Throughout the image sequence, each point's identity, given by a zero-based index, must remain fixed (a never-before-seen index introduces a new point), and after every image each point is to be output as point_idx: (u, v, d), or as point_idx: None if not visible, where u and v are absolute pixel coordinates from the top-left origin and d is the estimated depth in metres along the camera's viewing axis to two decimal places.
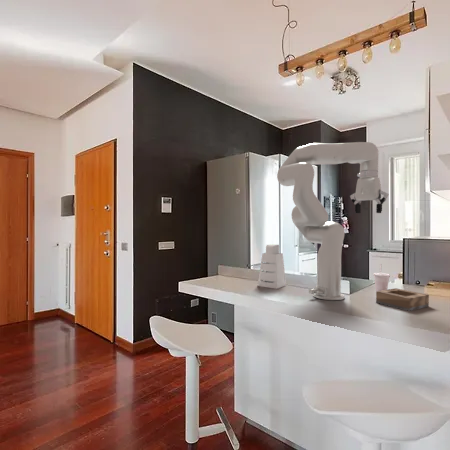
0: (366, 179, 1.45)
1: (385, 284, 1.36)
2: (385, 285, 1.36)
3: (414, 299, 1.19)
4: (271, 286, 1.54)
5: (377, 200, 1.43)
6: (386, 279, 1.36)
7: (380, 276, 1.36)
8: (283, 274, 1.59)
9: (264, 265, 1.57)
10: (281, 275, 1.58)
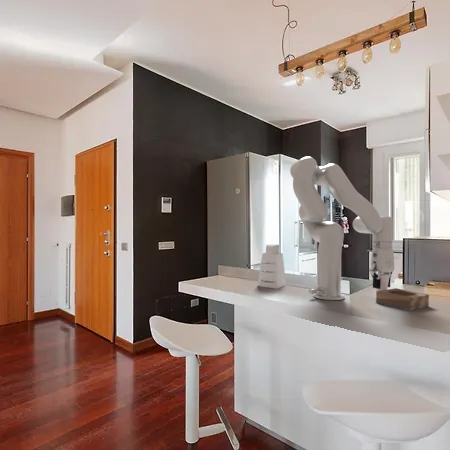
0: (388, 250, 1.36)
1: (385, 284, 1.36)
2: (385, 285, 1.36)
3: (414, 299, 1.19)
4: (271, 286, 1.54)
5: (389, 274, 1.39)
6: (386, 279, 1.36)
7: (380, 276, 1.36)
8: (283, 274, 1.59)
9: (264, 265, 1.57)
10: (281, 275, 1.58)
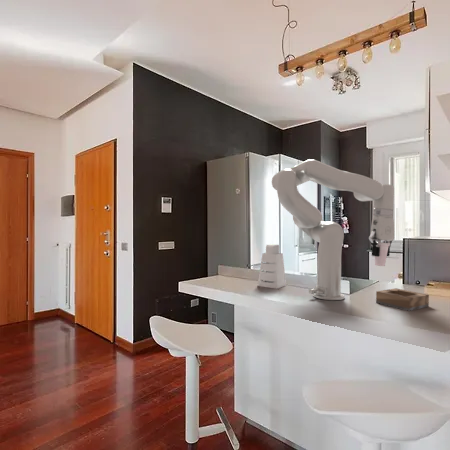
0: (389, 218, 1.36)
1: (384, 252, 1.36)
2: (384, 253, 1.36)
3: (414, 299, 1.19)
4: (271, 286, 1.54)
5: None
6: (385, 247, 1.36)
7: (379, 244, 1.36)
8: (283, 274, 1.59)
9: (264, 265, 1.57)
10: (281, 275, 1.58)
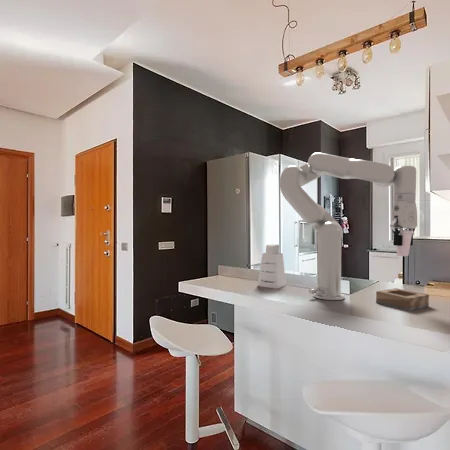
0: (411, 204, 1.23)
1: (408, 241, 1.23)
2: (408, 242, 1.23)
3: (414, 299, 1.19)
4: (271, 286, 1.54)
5: None
6: (409, 235, 1.23)
7: (402, 232, 1.23)
8: (283, 274, 1.59)
9: (264, 265, 1.57)
10: (281, 275, 1.58)
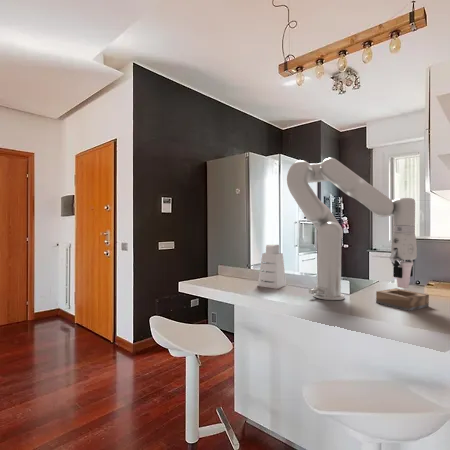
0: (411, 236, 1.23)
1: (408, 273, 1.23)
2: (407, 274, 1.23)
3: (414, 299, 1.19)
4: (271, 286, 1.54)
5: None
6: (409, 267, 1.23)
7: (402, 264, 1.23)
8: (283, 274, 1.59)
9: (264, 265, 1.57)
10: (281, 275, 1.58)
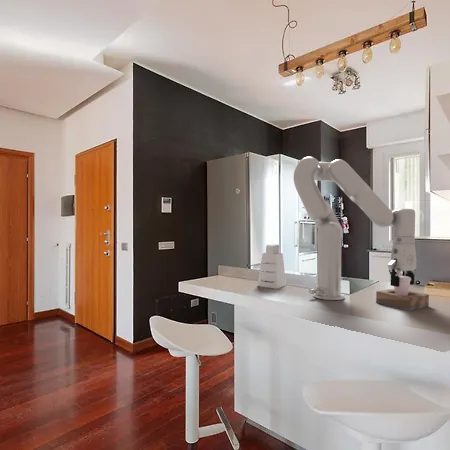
0: (410, 246, 1.23)
1: (406, 288, 1.23)
2: (406, 289, 1.23)
3: (414, 299, 1.19)
4: (271, 286, 1.54)
5: (413, 270, 1.27)
6: (407, 283, 1.23)
7: (400, 279, 1.23)
8: (283, 274, 1.59)
9: (264, 265, 1.57)
10: (281, 275, 1.58)
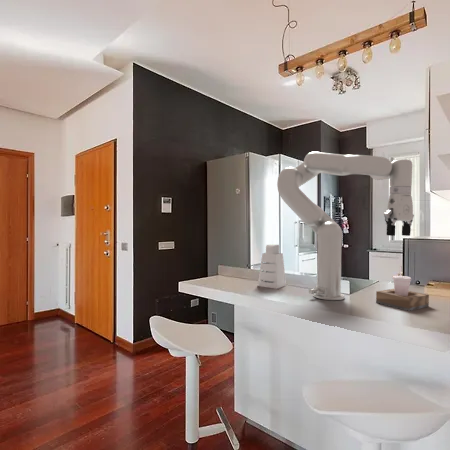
0: (407, 197, 1.25)
1: (406, 288, 1.23)
2: (406, 289, 1.23)
3: (414, 299, 1.19)
4: (271, 286, 1.54)
5: (409, 221, 1.29)
6: (407, 283, 1.23)
7: (400, 279, 1.23)
8: (283, 274, 1.59)
9: (264, 265, 1.57)
10: (281, 275, 1.58)
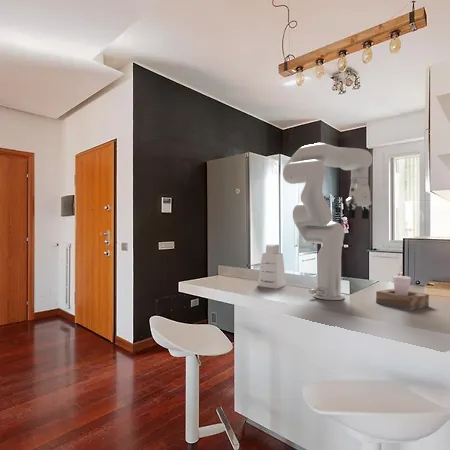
0: (364, 186, 1.51)
1: (406, 288, 1.23)
2: (406, 289, 1.23)
3: (414, 299, 1.19)
4: (271, 286, 1.54)
5: (367, 207, 1.54)
6: (407, 283, 1.23)
7: (400, 279, 1.23)
8: (283, 274, 1.59)
9: (264, 265, 1.57)
10: (281, 275, 1.58)
